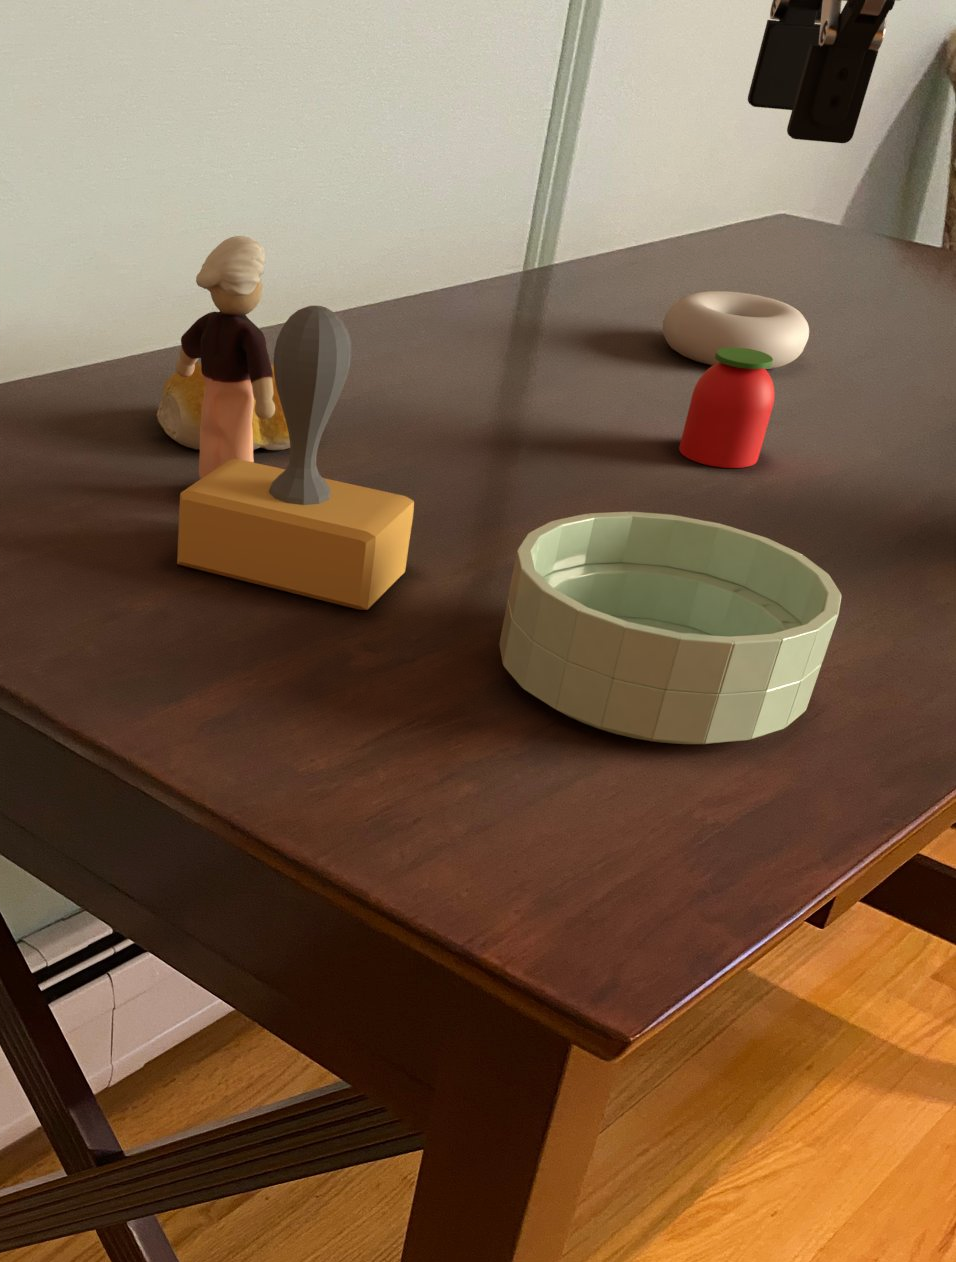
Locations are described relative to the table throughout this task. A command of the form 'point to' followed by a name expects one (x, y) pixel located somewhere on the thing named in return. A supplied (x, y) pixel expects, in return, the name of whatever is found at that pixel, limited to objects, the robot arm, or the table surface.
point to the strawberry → (730, 410)
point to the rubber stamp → (299, 493)
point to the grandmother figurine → (229, 354)
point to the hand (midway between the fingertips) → (795, 123)
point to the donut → (734, 326)
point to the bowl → (667, 626)
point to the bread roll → (185, 408)
